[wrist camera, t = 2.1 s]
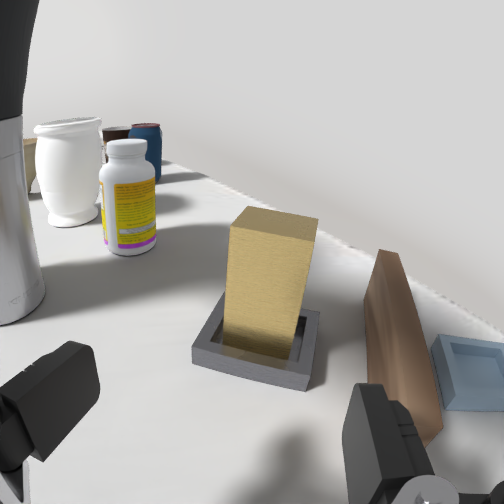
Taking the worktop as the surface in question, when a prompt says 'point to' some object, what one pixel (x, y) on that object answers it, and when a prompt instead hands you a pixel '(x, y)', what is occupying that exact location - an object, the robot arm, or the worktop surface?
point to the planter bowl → (29, 160)
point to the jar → (69, 169)
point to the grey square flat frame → (256, 365)
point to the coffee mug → (114, 135)
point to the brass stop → (266, 279)
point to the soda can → (150, 143)
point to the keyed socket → (470, 373)
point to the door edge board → (399, 346)
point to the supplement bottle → (128, 198)
